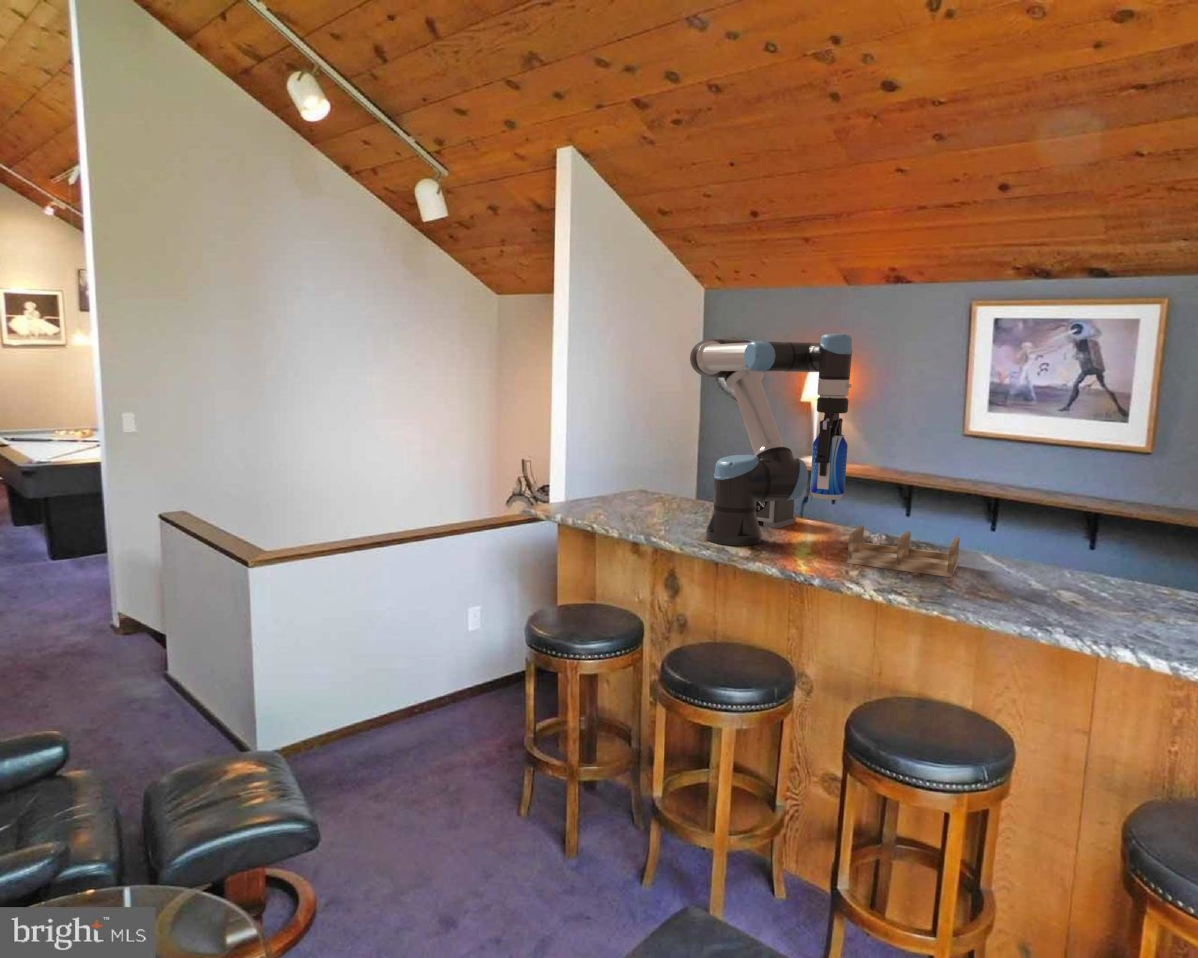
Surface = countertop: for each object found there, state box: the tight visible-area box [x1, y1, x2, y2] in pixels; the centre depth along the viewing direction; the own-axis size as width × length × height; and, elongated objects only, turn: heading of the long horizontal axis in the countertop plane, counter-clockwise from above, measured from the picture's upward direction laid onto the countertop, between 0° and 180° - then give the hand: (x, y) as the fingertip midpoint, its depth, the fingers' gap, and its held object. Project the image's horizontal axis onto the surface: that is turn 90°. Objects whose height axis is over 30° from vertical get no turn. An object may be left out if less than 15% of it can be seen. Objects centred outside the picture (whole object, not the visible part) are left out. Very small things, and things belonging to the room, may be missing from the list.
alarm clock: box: [756, 499, 797, 529], centre depth 248 cm, size 18×13×18 cm
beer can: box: [809, 433, 849, 501], centre depth 202 cm, size 8×8×16 cm
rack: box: [846, 525, 961, 578], centre depth 199 cm, size 24×13×7 cm, turn 61°
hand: (827, 486), depth 203 cm, fingers closed on beer can, 8 cm apart
